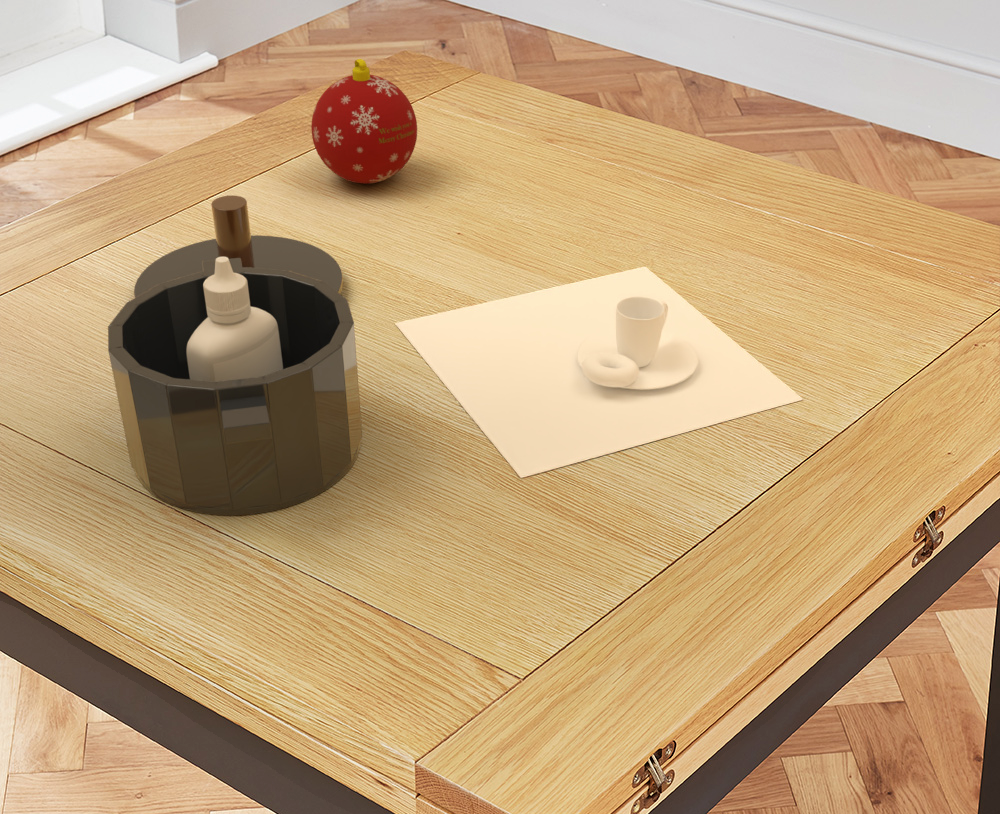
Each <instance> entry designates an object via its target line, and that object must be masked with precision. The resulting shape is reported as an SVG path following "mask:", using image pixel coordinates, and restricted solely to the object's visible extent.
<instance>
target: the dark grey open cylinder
mask: <svg viewBox="0 0 1000 814" xmlns="http://www.w3.org/2000/svg"><path fill="white" fill-rule="evenodd" d="M215 261H216V260H213V261H203V262H202V267H203V272H198V273H194V274H191V275H187V276H184V277H181V278H177V279H174V280H171V281H167V282H164V283H161V284H158V285H156V286H155V287H153V288H151V289H149V290H148V291H146V292H144V293H143V294H141V295H139V296H137V297H136V298H135V297H134V298H132V299H131V300H129V301H127V302H126V303H125V304H124V305H123V307H122V308H121V309H120V310H119V312H118V313H117V314H116V315H115V316H114V318H113V319H112V321H111V322H110V323H109V324H108V326H107V351H108V356H109V361H110V365H111V370H112V375H113V382H114V387H115V392H116V396H117V400H118V406H119V409H120V410H119V411H120V417H121V421H122V426H123V431H124V437H125V441H126V445H127V450H128V456H129V461H130V465H131V468H132V469H133V470H134V471H133V472H134V473H135V476H136V478H137V479H138V481H139V482H140V484H141V485H142V486H143V487H144V489H146V490H147V491H148V492H149V493H150V494H151V495H153V496H154V497H156V498H157V499H159V500H160V501H162V502H164V503H166V504H169V505H171V506H174V507H175V508H179V509H182V510H186V511H189V512H194V513H198V514H206V515H213V516H247V515H256V514H263V513H270V512H274V511H278V510H282V509H285V508H290V507H293V506H295V505H298V504H301V503H304V502H306V501H309V500H310V499H312V498H314V497H317V496H319V495H320V494H322V493H323V492H325V491H327V490H328V489H330V488H331V487H332V486H334V485H335V484H337V483H338V482H339V481H340V480H341V479H342V478H344V476H345V475H347V473H348V472H349V471H350V470H351V468H352V467H353V466H354V464H355V462H356V460H357V459H358V455H359V453H360V450H361V442H362V438H363V429H362V415H361V400H360V385H359V374H358V360H357V359H358V358H357V345H356V334H355V333H356V332H355V321H354V318H353V315H352V312H351V308H350V304H349V301H348V299H347V298H346V297H345V296H344V295H342V294H339V293H338V292H337V291H335V290H334V289H333V288H331V287H330V286H329V285H328V284H326V283H325V282H323V281H320V280H317V279H313V278H310V277H307V276H304V275H301V274H298V273H294V272H291V271H287V270H276V269H263V268H251V267H246V268H245V267H242V262H241V258H232V259H229V262H230V265H231V268H232V270H233V272H234V273H238V274H241V275H242V276H244V277H245V278H246V279H247V283H248V291H249V299H250V306H251V307H256V308H259V309H261V310H264V311H266V312H268V313H269V314H271V315H272V316H273V317H274V318H275V320H276V322H277V325H278V331H279V338H280V346H281V354H282V363H283V370H280V371H277V372H274V373H271V374H268V375H265V376H262V377H254V378H245V379H237V380H228V381H220V382H211V381H200V380H190V376H189V369H188V361H187V343H188V341H189V339H190V337H191V336H192V334H193V333H194V331H195V330H196V329H197V328H198V326H199V325H200V324H201V323H202V322H203V321H204V320H205V319H206V318H207V317H208V315H207V309H206V302H205V295H204V288H203V284H204V281H205V280H206V279H207V278H208V277H210V276H212V275H214V274H215Z"/></svg>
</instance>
